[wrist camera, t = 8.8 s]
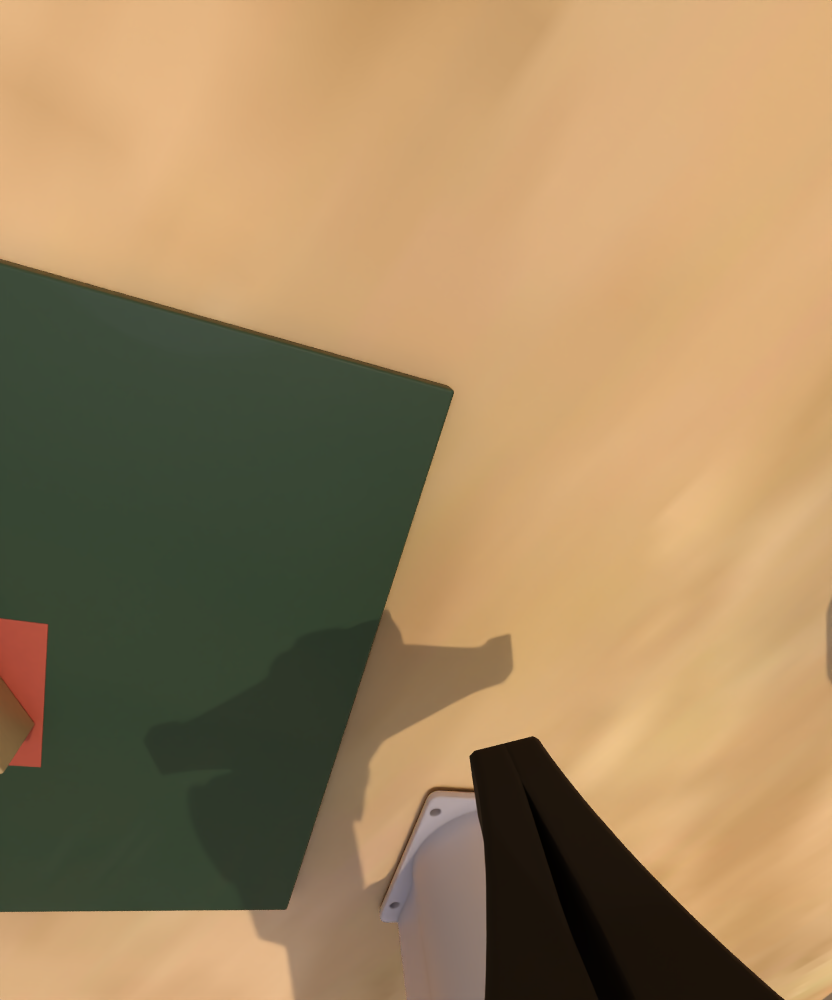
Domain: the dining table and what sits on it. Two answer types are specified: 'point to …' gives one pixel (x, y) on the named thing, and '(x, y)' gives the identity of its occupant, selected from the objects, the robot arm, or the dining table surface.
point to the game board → (188, 589)
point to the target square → (26, 679)
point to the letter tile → (11, 725)
